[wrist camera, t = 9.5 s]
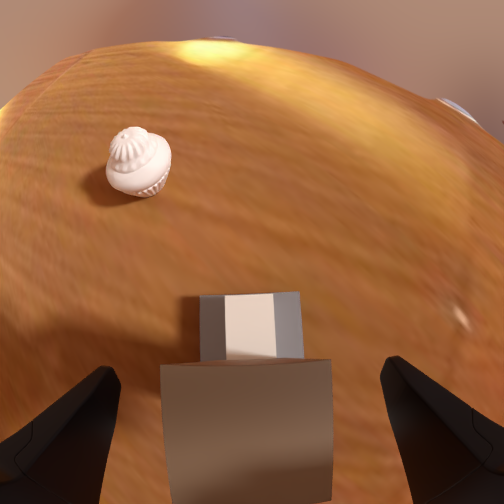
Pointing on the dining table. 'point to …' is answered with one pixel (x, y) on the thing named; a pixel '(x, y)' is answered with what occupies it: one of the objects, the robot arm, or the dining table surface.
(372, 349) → the dining table surface
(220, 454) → the tall brown block
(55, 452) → the robot arm
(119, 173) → the muffin
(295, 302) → the ridge block
